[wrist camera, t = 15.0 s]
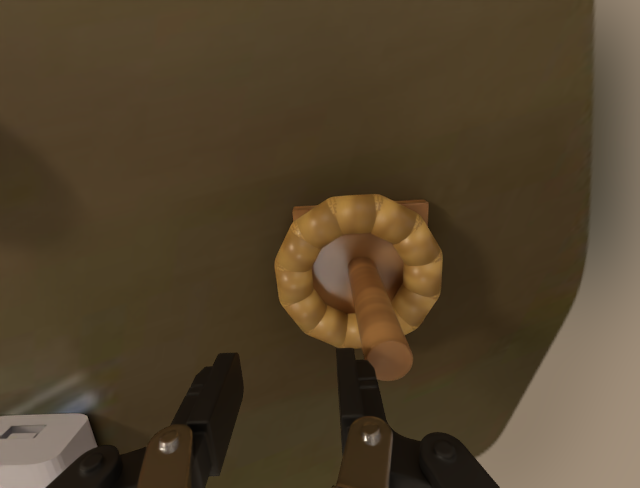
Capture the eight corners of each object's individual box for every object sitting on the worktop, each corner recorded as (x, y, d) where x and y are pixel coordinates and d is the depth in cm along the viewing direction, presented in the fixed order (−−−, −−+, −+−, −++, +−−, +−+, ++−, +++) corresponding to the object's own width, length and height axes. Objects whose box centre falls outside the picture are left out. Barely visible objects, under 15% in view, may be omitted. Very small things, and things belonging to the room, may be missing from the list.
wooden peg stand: (293, 206, 23) (270, 267, 13) (423, 199, 23) (511, 254, 12) (303, 320, 26) (290, 448, 15) (419, 314, 26) (487, 440, 15)
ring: (269, 197, 22) (262, 205, 19) (439, 185, 21) (452, 193, 19) (287, 337, 25) (283, 358, 23) (432, 331, 25) (442, 352, 22)
